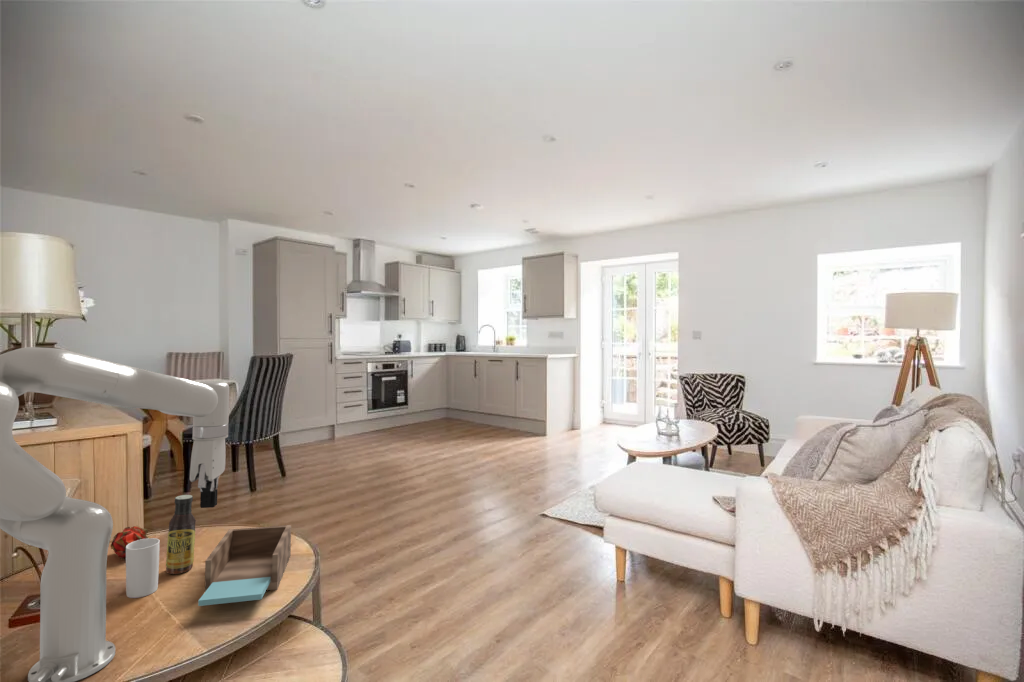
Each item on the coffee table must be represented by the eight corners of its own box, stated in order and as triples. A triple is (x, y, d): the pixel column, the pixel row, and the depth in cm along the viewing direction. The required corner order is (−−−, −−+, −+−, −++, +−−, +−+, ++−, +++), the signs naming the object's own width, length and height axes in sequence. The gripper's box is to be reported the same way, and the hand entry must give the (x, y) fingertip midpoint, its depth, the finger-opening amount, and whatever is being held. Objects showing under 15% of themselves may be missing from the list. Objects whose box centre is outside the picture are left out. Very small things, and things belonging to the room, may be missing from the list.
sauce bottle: (163, 577, 131) (164, 502, 130) (168, 567, 136) (169, 494, 136) (192, 573, 133) (193, 499, 133) (196, 563, 139) (197, 492, 139)
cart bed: (277, 590, 125) (277, 554, 125) (204, 597, 121) (205, 560, 121) (290, 555, 145) (291, 524, 145) (228, 561, 140) (229, 529, 140)
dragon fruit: (136, 551, 149) (130, 573, 139) (106, 540, 145) (98, 562, 135) (156, 526, 151) (152, 547, 141) (128, 515, 146) (121, 535, 136)
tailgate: (270, 585, 125) (261, 603, 115) (212, 591, 122) (197, 610, 112) (270, 576, 125) (261, 593, 115) (212, 582, 122) (198, 600, 112)
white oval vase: (155, 595, 121) (155, 547, 121) (121, 601, 119) (121, 551, 119) (164, 577, 131) (165, 531, 131) (133, 581, 128) (134, 535, 128)
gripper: (205, 426, 129) (203, 497, 129) (180, 438, 114) (178, 518, 114) (237, 426, 130) (235, 496, 130) (216, 437, 116) (214, 516, 116)
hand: (208, 506), depth 122 cm, fingers closed
